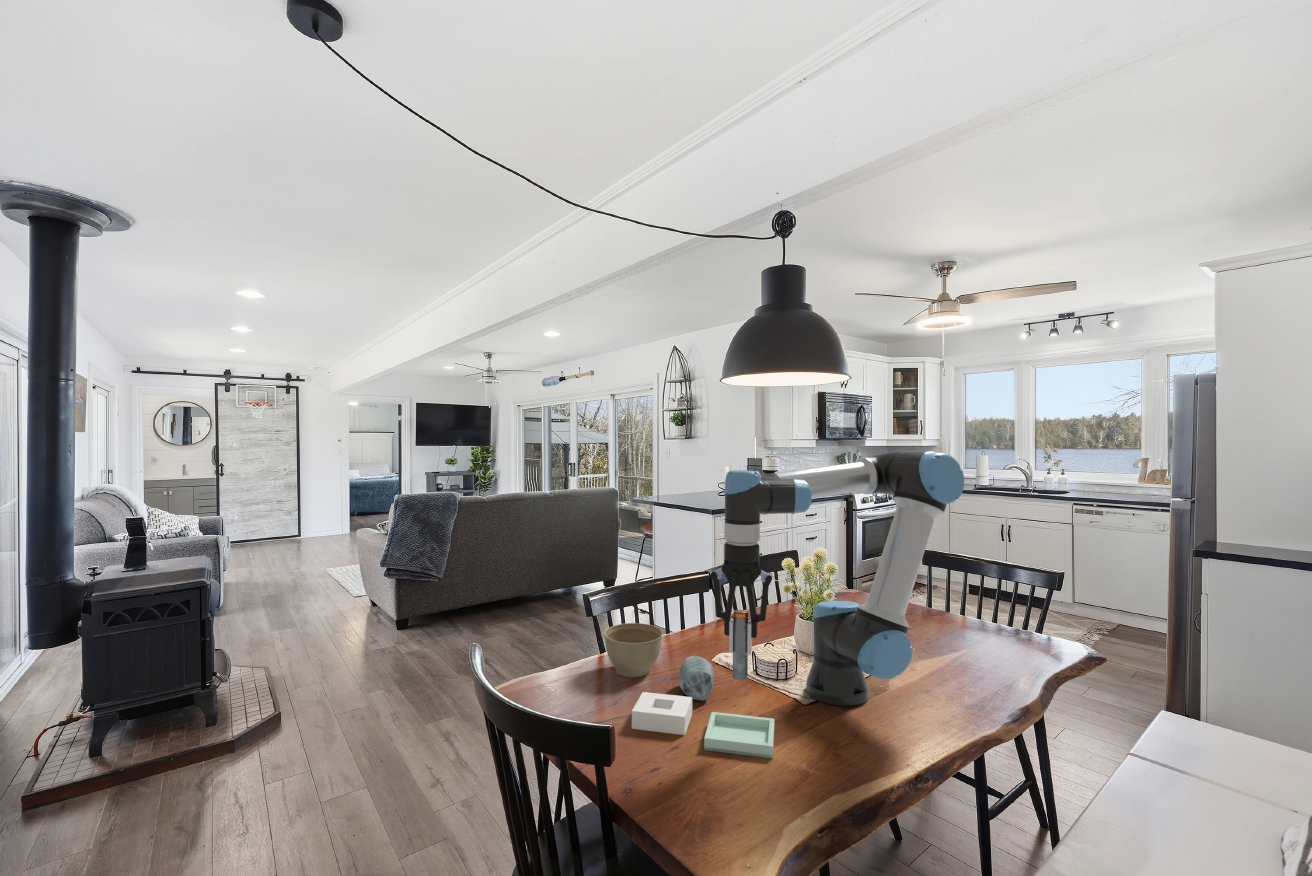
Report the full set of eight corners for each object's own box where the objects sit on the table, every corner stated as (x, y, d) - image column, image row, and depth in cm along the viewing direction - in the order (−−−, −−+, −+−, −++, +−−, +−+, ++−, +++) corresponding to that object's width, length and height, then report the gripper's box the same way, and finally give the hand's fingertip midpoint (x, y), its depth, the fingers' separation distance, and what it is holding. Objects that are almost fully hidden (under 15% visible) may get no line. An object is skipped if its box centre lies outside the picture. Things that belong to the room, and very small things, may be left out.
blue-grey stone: (722, 693, 143) (703, 653, 146) (686, 710, 143) (668, 670, 146) (722, 683, 156) (705, 647, 159) (690, 700, 156) (673, 663, 159)
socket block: (692, 714, 139) (692, 697, 139) (684, 735, 129) (684, 717, 129) (642, 708, 142) (642, 691, 142) (631, 728, 132) (631, 710, 132)
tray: (774, 730, 132) (774, 718, 132) (772, 758, 120) (772, 746, 120) (711, 722, 135) (711, 711, 135) (704, 750, 123) (704, 738, 123)
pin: (748, 675, 129) (748, 610, 128) (747, 680, 125) (747, 614, 125) (733, 673, 129) (734, 609, 129) (731, 679, 126) (732, 613, 126)
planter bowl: (593, 677, 159) (593, 637, 159) (619, 657, 174) (619, 620, 174) (648, 687, 153) (649, 646, 153) (670, 665, 168) (671, 627, 168)
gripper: (780, 541, 129) (779, 648, 129) (706, 537, 133) (705, 642, 133) (780, 547, 122) (778, 661, 122) (701, 543, 125) (700, 654, 125)
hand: (740, 651), depth 127 cm, fingers closed on pin, 3 cm apart
